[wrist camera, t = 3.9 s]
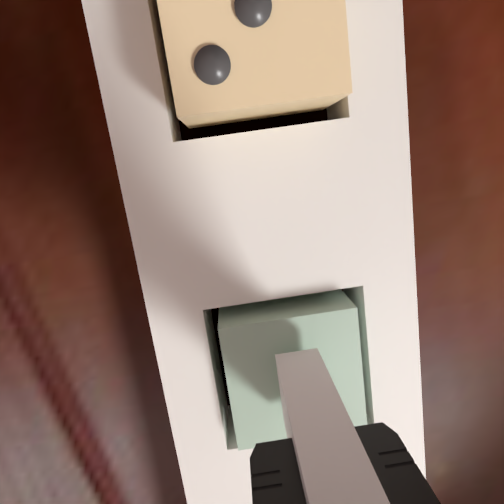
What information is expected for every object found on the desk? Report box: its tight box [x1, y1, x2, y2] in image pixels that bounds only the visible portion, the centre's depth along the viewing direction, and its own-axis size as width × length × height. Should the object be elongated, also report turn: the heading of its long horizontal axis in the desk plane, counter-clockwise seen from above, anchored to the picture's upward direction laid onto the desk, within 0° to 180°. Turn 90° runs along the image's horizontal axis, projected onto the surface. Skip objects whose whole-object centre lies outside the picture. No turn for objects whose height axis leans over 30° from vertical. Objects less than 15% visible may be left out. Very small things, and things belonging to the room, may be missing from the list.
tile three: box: [157, 0, 353, 129], centre depth 12 cm, size 5×5×4 cm
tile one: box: [218, 289, 367, 451], centre depth 16 cm, size 5×5×4 cm
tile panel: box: [81, 0, 426, 504], centre depth 17 cm, size 34×10×3 cm, turn 8°
